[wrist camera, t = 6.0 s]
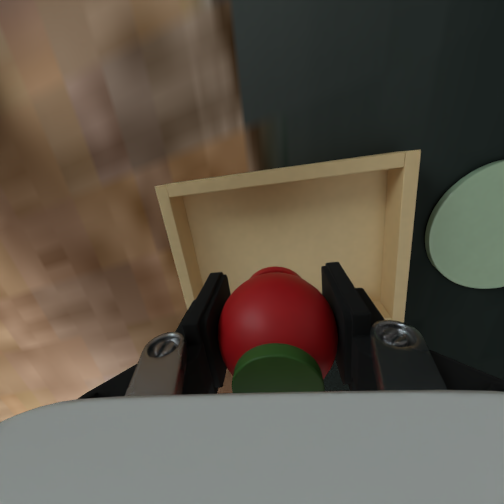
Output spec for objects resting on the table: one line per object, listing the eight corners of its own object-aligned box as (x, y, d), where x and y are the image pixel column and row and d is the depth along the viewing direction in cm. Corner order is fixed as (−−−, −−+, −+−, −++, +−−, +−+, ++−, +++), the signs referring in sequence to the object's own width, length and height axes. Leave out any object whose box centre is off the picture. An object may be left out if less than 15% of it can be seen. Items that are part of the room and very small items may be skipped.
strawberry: (238, 333, 12) (216, 442, 8) (223, 256, 11) (184, 332, 6) (324, 329, 12) (358, 443, 7) (321, 246, 10) (362, 322, 6)
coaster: (418, 288, 19) (422, 292, 18) (432, 167, 16) (437, 168, 15) (553, 280, 17) (562, 284, 17) (597, 146, 14) (610, 146, 14)
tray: (204, 314, 22) (193, 334, 19) (172, 182, 18) (154, 186, 15) (387, 304, 19) (403, 326, 17) (397, 151, 15) (421, 149, 13)
